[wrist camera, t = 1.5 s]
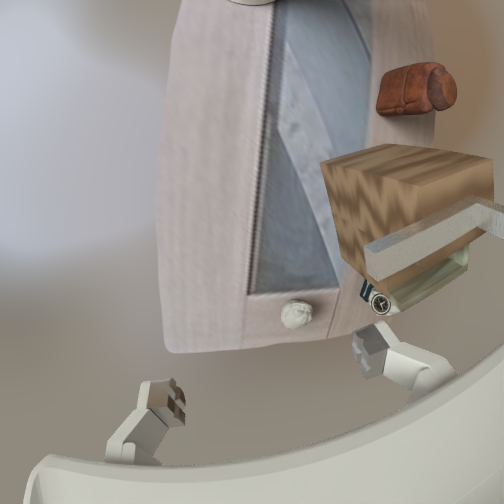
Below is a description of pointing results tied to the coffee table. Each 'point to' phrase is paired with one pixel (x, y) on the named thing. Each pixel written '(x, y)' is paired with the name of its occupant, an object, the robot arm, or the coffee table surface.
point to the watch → (377, 300)
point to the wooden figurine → (416, 90)
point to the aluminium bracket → (432, 235)
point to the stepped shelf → (403, 209)
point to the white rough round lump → (296, 314)
